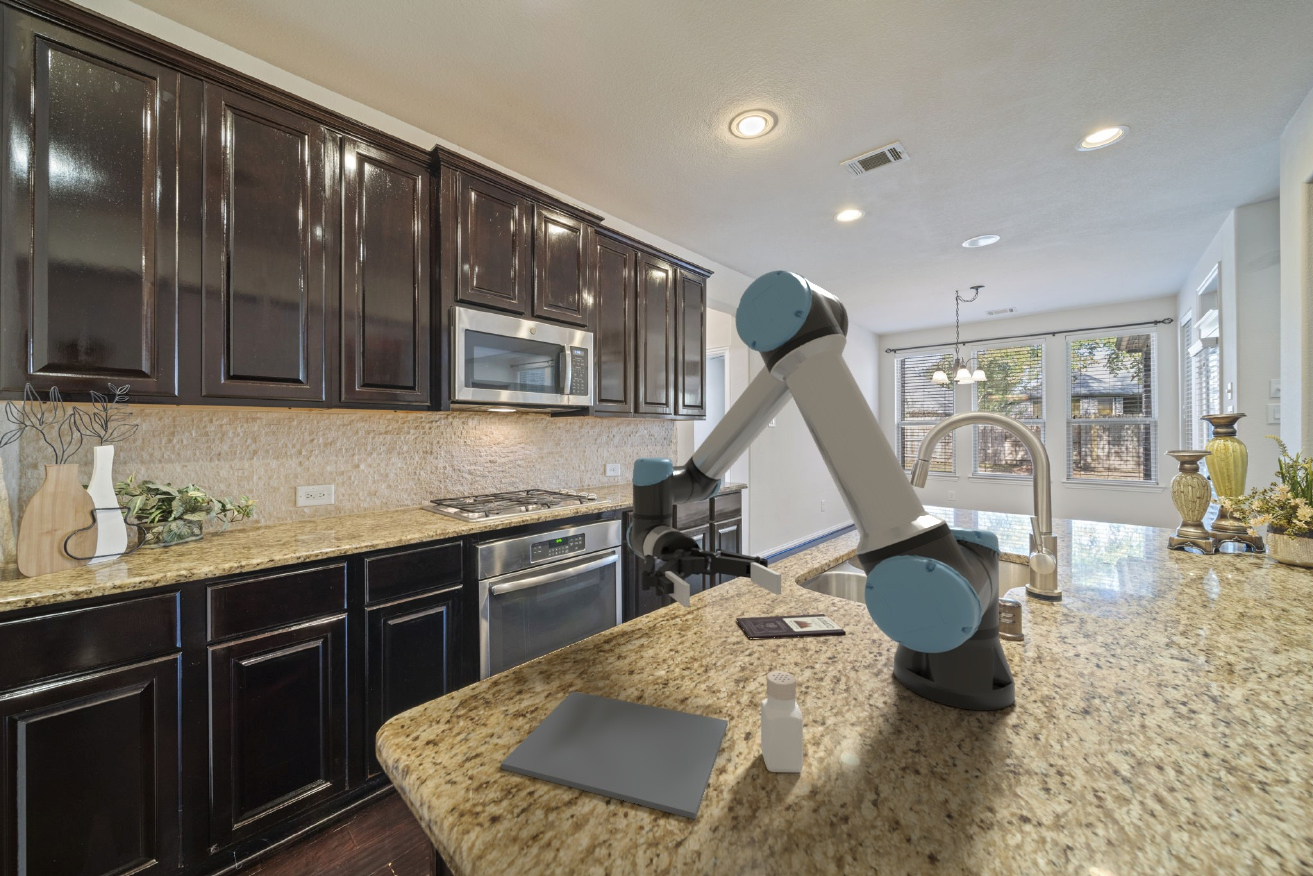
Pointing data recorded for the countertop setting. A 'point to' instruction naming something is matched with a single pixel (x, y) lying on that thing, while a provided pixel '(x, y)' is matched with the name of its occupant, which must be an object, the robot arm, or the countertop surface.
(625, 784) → the rubber mat
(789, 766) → the salt shaker
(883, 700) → the countertop surface
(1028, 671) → the countertop surface
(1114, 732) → the countertop surface
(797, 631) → the chocolate bar
